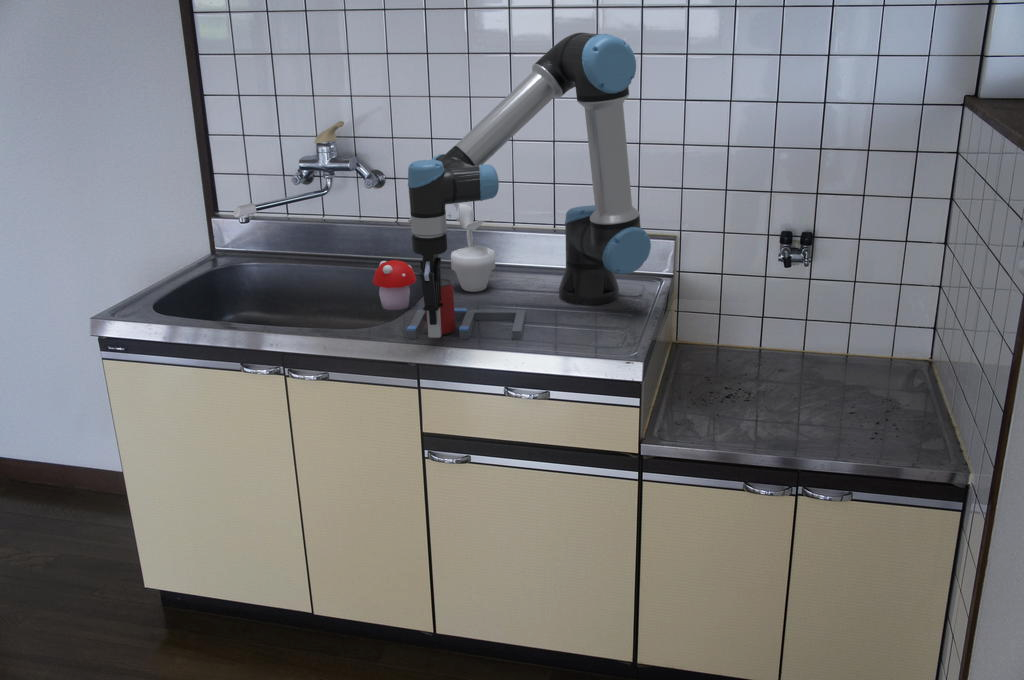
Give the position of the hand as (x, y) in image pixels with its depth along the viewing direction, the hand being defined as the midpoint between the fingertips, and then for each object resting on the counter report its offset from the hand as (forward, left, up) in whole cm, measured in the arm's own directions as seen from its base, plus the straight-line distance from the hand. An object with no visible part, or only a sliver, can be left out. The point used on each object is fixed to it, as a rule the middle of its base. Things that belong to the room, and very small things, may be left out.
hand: (435, 336), depth 217 cm
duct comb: (-6, -11, -2) cm, 12 cm away
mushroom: (+14, -26, -2) cm, 30 cm away
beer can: (0, -9, -2) cm, 9 cm away
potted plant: (-4, -40, -2) cm, 40 cm away
